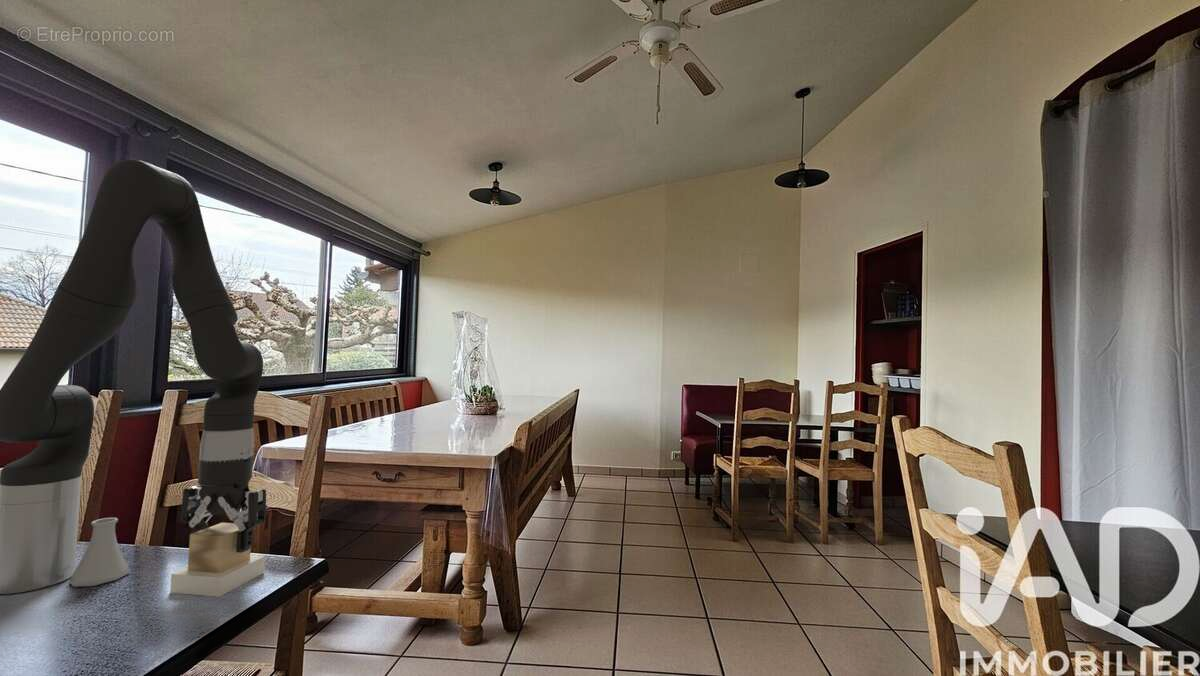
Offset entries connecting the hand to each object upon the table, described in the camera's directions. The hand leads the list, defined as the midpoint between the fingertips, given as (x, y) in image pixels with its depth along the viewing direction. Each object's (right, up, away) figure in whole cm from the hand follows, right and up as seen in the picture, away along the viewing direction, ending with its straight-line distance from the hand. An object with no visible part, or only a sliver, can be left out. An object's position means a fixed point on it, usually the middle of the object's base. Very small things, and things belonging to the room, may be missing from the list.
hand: (221, 549), depth 84 cm
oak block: (0, -3, 0) cm, 3 cm away
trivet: (0, -6, 0) cm, 6 cm away
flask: (-21, -5, 0) cm, 22 cm away
